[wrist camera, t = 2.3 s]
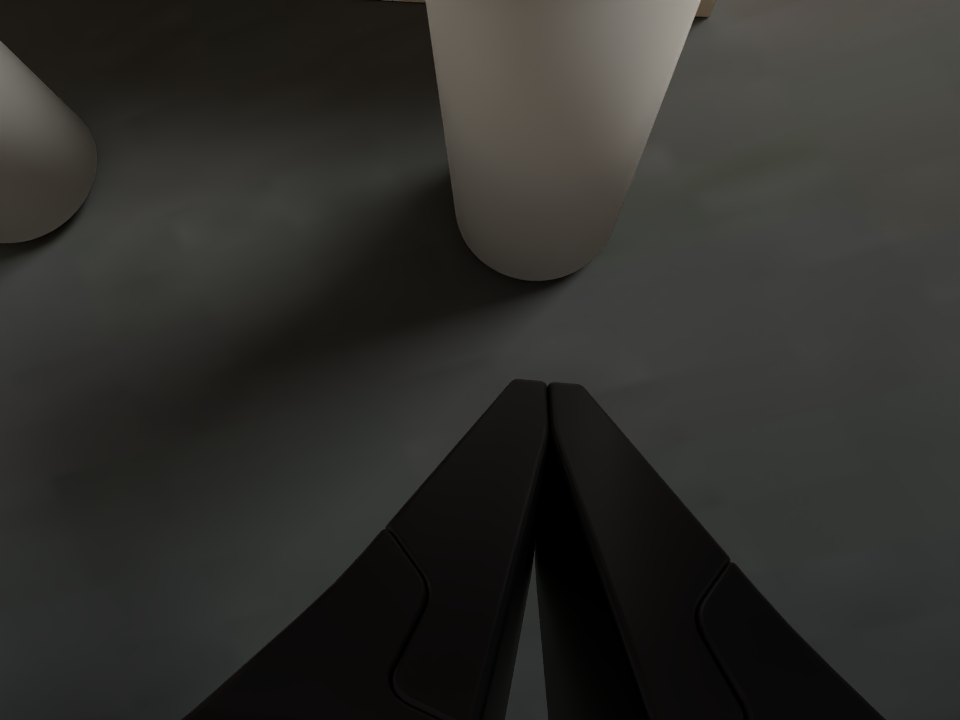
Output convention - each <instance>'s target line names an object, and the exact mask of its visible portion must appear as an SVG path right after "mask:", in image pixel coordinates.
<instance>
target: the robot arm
mask: <svg viewBox="0 0 960 720" xmlns="http://www.w3.org/2000/svg"><path fill="white" fill-rule="evenodd" d="M534 551H535V570H536V584H537V596H538V607H539V618H540V630H541V641H542V652H543V664H544V675H545V686H546V698H547V709H548V720H886V719H885V718H884V717H883V716H882V715H880V714H879V713H878V712H877V711H876V710H875V709H874V708H873V707H872V706H871V705H870V704H869V703H868V702H867V701H866V700H865V699H864V698H863V697H862V696H861V695H860V694H859V693H858V692H857V691H856V690H855V689H853V688H852V687H851V686H850V685H849V684H848V683H847V682H846V681H845V680H844V679H843V678H842V677H841V676H840V675H839V674H838V673H837V672H836V671H835V670H834V669H833V668H832V667H831V666H830V665H829V664H828V663H827V662H826V661H825V660H824V659H823V658H822V657H821V656H820V655H819V654H818V653H817V652H816V651H815V650H814V649H813V648H812V647H811V646H810V645H809V644H808V643H807V642H806V641H805V640H804V639H803V638H802V637H801V636H800V635H799V634H798V633H797V632H796V631H795V630H794V629H793V628H792V627H791V626H790V625H789V624H788V623H787V621H786V620H785V619H784V618H783V617H782V616H781V615H780V614H779V613H778V611H777V610H776V609H775V608H774V607H773V606H772V605H771V604H770V603H769V602H768V600H767V599H766V598H765V597H764V596H763V595H762V594H761V593H760V592H759V590H758V589H757V588H756V587H755V586H754V585H753V584H752V582H751V581H750V580H749V579H748V578H747V577H746V575H745V574H744V573H743V572H742V571H741V570H740V568H739V567H738V566H737V565H736V564H735V563H733V562H731V563H730V557H729V556H728V555H727V554H726V553H725V551H724V550H723V549H722V548H721V547H720V546H719V544H718V543H717V542H716V541H715V540H714V539H713V537H712V536H711V535H710V534H709V533H708V532H707V530H706V529H705V528H704V527H703V526H702V525H701V523H700V522H699V521H698V520H697V519H696V518H695V516H694V515H693V514H692V513H691V512H690V511H689V509H688V508H687V507H686V506H685V505H684V504H683V502H682V501H681V500H680V499H679V498H678V497H677V495H676V494H675V493H674V492H673V491H672V490H671V488H670V487H669V486H668V485H667V484H666V483H665V481H664V480H663V479H662V478H661V477H660V476H659V474H658V473H657V472H656V471H655V470H654V469H653V467H652V466H651V465H650V464H649V463H648V462H647V460H646V459H645V458H644V457H643V456H642V455H641V453H640V452H639V451H638V450H637V449H636V448H635V446H634V445H633V444H632V443H631V442H630V441H629V439H628V438H627V437H626V436H625V435H624V434H623V432H622V431H621V430H620V429H619V428H618V427H617V425H616V424H615V423H614V422H613V421H612V420H611V418H610V417H609V416H608V415H607V414H606V412H605V411H604V410H603V409H602V408H601V407H600V405H599V404H598V403H597V402H596V401H595V400H594V398H593V397H592V396H591V395H590V394H589V393H588V391H587V390H586V389H585V388H584V387H583V386H581V385H579V384H569V383H557V382H553V383H550V384H549V385H548V387H547V385H546V384H545V383H544V382H542V381H534V380H523V379H515V380H512V381H511V382H510V383H509V385H508V386H507V387H506V388H505V389H504V390H503V392H502V393H501V394H500V395H499V396H498V397H497V398H496V400H495V401H494V402H493V403H492V404H491V405H490V407H489V408H488V409H487V410H486V411H485V412H484V413H483V415H482V416H481V417H480V418H479V419H478V420H477V422H476V423H475V424H474V425H473V426H472V427H471V428H470V430H469V431H468V432H467V433H466V434H465V435H464V437H463V438H462V439H461V440H460V441H459V442H458V443H457V445H456V446H455V447H454V448H453V449H452V450H451V452H450V453H449V454H448V455H447V456H446V457H445V458H444V460H443V461H442V462H441V463H440V464H439V465H438V467H437V468H436V469H435V470H434V471H433V472H432V473H431V475H430V476H429V477H428V478H427V479H426V480H425V482H424V483H423V484H422V485H421V486H420V487H419V488H418V490H417V491H416V492H415V493H414V494H413V495H412V497H411V498H410V499H409V500H408V501H407V502H406V503H405V505H404V506H403V507H402V508H401V509H400V510H399V512H398V513H397V514H396V515H395V516H394V517H393V518H392V520H391V521H390V522H389V523H388V524H387V525H386V529H384V530H382V531H381V532H380V533H379V534H378V535H377V536H376V538H375V539H374V540H373V541H372V542H371V543H370V545H369V546H368V547H367V548H366V549H365V550H364V552H363V553H362V554H361V555H360V556H359V557H358V558H357V559H356V560H355V561H354V562H353V563H352V564H351V566H350V567H349V568H348V569H347V570H346V571H345V572H344V573H343V574H342V575H341V576H340V577H339V578H338V579H337V580H336V582H335V583H334V584H333V585H332V586H330V587H329V588H328V589H327V590H326V591H325V592H324V593H323V594H322V595H321V596H320V597H319V598H318V599H317V600H315V601H314V602H313V603H312V604H311V605H310V606H309V607H308V608H307V609H306V610H305V611H304V612H303V613H302V614H301V615H299V616H298V617H297V618H296V619H295V620H294V621H293V622H292V623H291V624H289V625H288V626H287V627H286V628H285V629H284V630H283V631H282V632H280V633H279V634H278V635H277V636H276V637H275V638H274V639H273V640H271V641H270V642H269V643H268V644H267V645H266V646H265V647H264V648H262V649H261V650H260V651H259V652H258V653H257V654H256V655H255V656H253V657H252V658H251V659H250V660H249V661H248V662H247V663H246V664H244V665H243V666H242V667H241V668H240V669H239V670H238V671H237V672H235V673H234V674H233V675H232V676H231V677H230V678H229V679H228V680H226V681H225V682H224V683H223V684H222V685H221V686H220V687H219V688H217V689H216V690H215V691H214V692H213V693H212V694H211V695H210V696H208V697H207V698H206V699H205V700H204V701H203V702H202V703H201V704H199V705H198V706H197V707H196V708H195V709H194V710H193V711H191V712H190V713H189V714H188V715H186V716H185V717H184V718H183V719H182V720H505V715H506V710H507V704H508V699H509V693H510V688H511V682H512V677H513V671H514V666H515V661H516V655H517V650H518V644H519V639H520V633H521V628H522V622H523V617H524V611H525V606H526V600H527V595H528V589H529V584H530V579H531V572H532V565H533V558H534Z"/></svg>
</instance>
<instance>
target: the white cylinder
mask: <svg viewBox="0 0 960 720" xmlns="http://www.w3.org/2000/svg"><path fill="white" fill-rule="evenodd" d="M700 1H701V0H426V7H427V15H428V22H429V29H430V36H431V43H432V50H433V57H434V64H435V72H436V79H437V86H438V93H439V100H440V107H441V114H442V121H443V128H444V136H445V143H446V150H447V157H448V164H449V171H450V178H451V185H452V193H453V200H454V207H455V214H456V220H457V224H458V227H459V230H460V232H461V235H462V237H463V239H464V241H465V242H466V244H467V246H468V247H469V248H470V250H471V251H472V252H473V253H474V254H475V255H476V256H477V257H478V258H479V259H480V260H481V261H482V262H483V263H485V264H486V265H487V266H489V267H490V268H492V269H494V270H495V271H497V272H499V273H501V274H504V275H506V276H509V277H513V278H516V279H521V280H528V281H544V280H552V279H556V278H560V277H564V276H566V275H569V274H572V273H574V272H576V271H577V270H579V269H581V268H583V267H584V266H585V265H587V264H588V263H590V262H591V261H592V260H593V259H594V258H595V257H596V256H597V255H598V254H599V253H600V252H601V250H602V249H603V248H604V247H605V245H606V243H607V241H608V240H609V238H610V236H611V233H612V231H613V229H614V226H615V223H616V221H617V218H618V216H619V213H620V210H621V208H622V205H623V203H624V200H625V197H626V195H627V192H628V189H629V187H630V184H631V182H632V179H633V176H634V174H635V171H636V169H637V166H638V163H639V161H640V158H641V156H642V153H643V150H644V148H645V145H646V142H647V140H648V137H649V135H650V132H651V129H652V127H653V124H654V122H655V119H656V116H657V114H658V111H659V109H660V106H661V103H662V101H663V98H664V95H665V93H666V90H667V88H668V85H669V82H670V80H671V77H672V75H673V72H674V69H675V67H676V64H677V62H678V59H679V56H680V54H681V51H682V48H683V46H684V43H685V41H686V38H687V35H688V33H689V30H690V28H691V25H692V22H693V20H694V17H695V15H696V12H697V9H698V7H699V4H700Z"/></svg>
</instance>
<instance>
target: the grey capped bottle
mask: <svg viewBox="0 0 960 720" xmlns="http://www.w3.org/2000/svg"><path fill="white" fill-rule="evenodd" d="M96 170H97V151H96V145H95V142H94V139H93V137H92V134H91V132H90V130H89V129H88V127H87V126H86V125H85V123H84V122H83V121H82V120H81V119H80V118H79V117H78V116H77V115H76V114H75V113H74V112H73V111H72V110H71V109H70V108H69V107H68V106H67V105H66V104H65V103H64V102H63V101H62V100H61V99H60V98H59V97H58V96H57V95H56V94H55V93H54V92H53V91H52V90H51V89H49V88H48V87H47V86H46V85H45V84H44V83H43V82H42V81H41V80H40V79H39V78H38V77H37V76H36V75H35V74H34V73H33V72H32V71H31V70H30V69H29V68H28V67H27V66H26V65H25V64H24V63H23V62H22V61H21V60H20V59H19V58H18V57H17V56H16V55H15V54H14V53H13V52H11V51H10V50H9V49H8V48H7V47H6V46H5V45H4V44H3V43H2V42H1V41H0V243H18V242H24V241H28V240H32V239H35V238H38V237H41V236H43V235H45V234H47V233H49V232H51V231H53V230H55V229H56V228H58V227H59V226H61V225H62V224H63V223H65V222H66V221H67V220H68V219H70V218H71V217H72V216H73V215H74V213H75V212H76V211H77V210H78V209H79V208H80V206H81V205H82V204H83V203H84V201H85V199H86V198H87V196H88V194H89V192H90V190H91V188H92V185H93V183H94V179H95V176H96Z"/></svg>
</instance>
